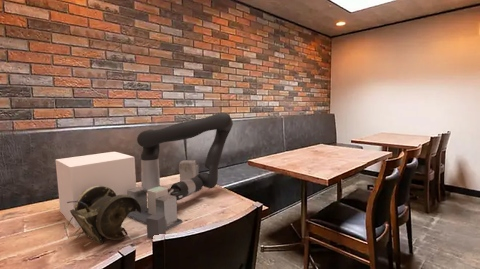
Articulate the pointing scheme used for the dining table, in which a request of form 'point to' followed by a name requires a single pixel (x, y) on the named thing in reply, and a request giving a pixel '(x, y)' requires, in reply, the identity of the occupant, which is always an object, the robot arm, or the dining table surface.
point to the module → (153, 195)
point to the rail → (163, 207)
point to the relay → (155, 225)
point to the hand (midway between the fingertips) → (153, 200)
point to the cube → (93, 177)
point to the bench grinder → (102, 213)
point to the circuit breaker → (188, 169)
